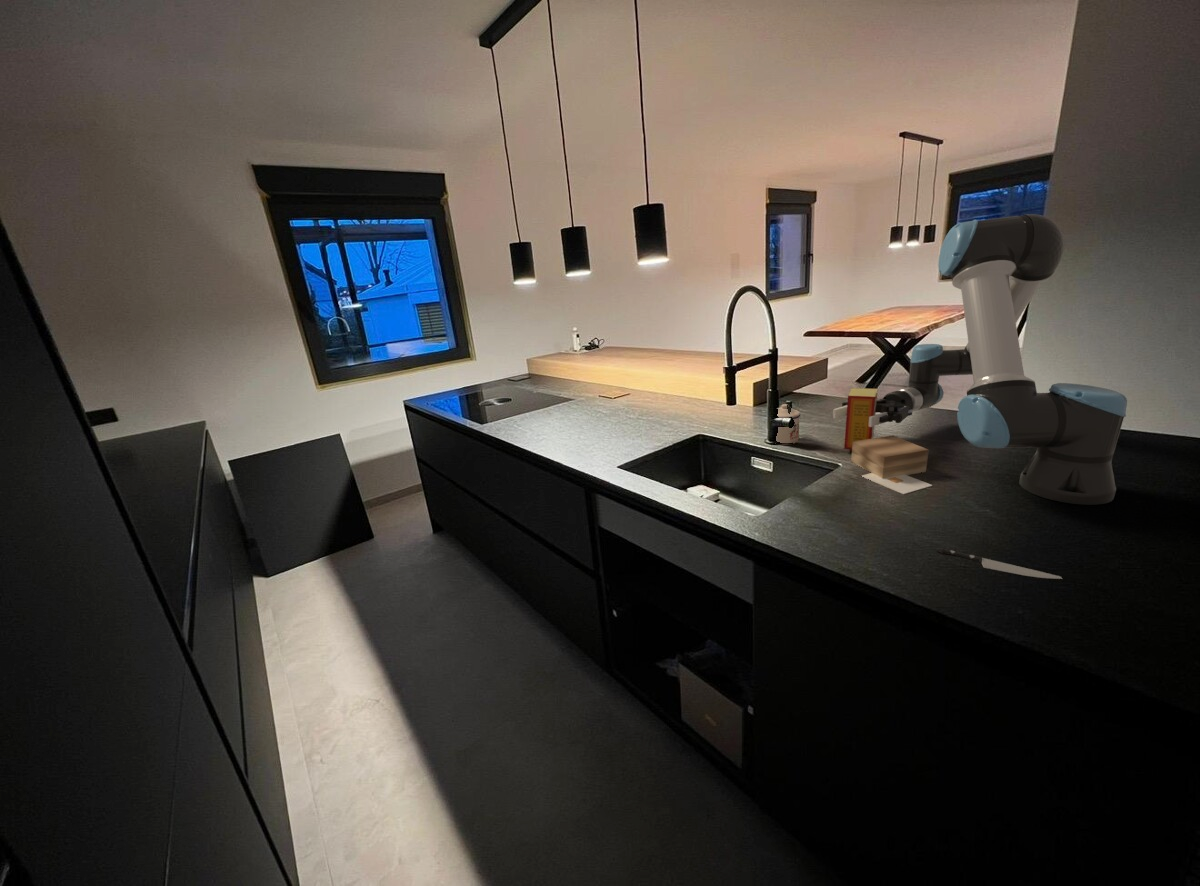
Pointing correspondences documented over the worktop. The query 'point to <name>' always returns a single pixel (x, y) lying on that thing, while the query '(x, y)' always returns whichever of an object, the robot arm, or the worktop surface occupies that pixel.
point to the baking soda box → (859, 415)
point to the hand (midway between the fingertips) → (851, 417)
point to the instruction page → (898, 483)
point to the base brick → (889, 456)
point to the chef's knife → (1000, 565)
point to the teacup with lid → (785, 432)
